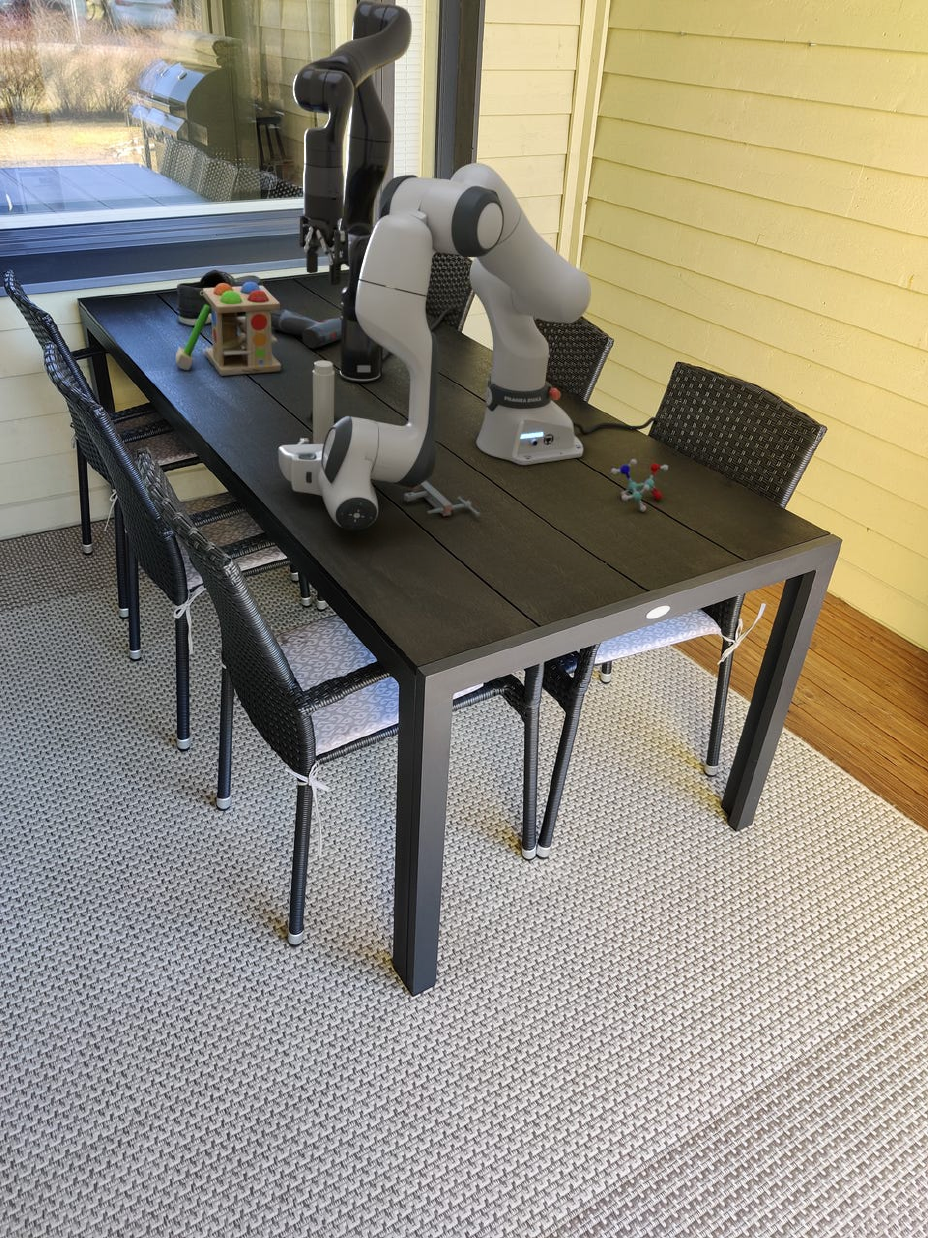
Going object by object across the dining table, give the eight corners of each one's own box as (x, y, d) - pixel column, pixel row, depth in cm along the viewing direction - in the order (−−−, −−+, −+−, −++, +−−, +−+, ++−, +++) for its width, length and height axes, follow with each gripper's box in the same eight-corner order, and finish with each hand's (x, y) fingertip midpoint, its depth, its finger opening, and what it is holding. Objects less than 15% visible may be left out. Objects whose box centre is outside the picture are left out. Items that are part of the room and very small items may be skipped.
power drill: (305, 316, 264) (364, 334, 256) (257, 332, 251) (318, 351, 243) (305, 296, 261) (365, 314, 253) (257, 311, 248) (318, 330, 240)
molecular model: (670, 504, 181) (654, 452, 180) (621, 519, 184) (605, 468, 183) (677, 496, 191) (662, 447, 190) (631, 511, 195) (616, 462, 194)
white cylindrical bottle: (337, 451, 197) (338, 361, 186) (329, 459, 193) (329, 368, 183) (317, 447, 197) (317, 358, 187) (309, 455, 194) (309, 364, 184)
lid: (311, 424, 207) (311, 416, 206) (310, 414, 211) (310, 406, 210) (335, 424, 208) (335, 416, 207) (333, 415, 212) (333, 407, 211)
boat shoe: (283, 304, 273) (281, 265, 267) (196, 327, 249) (192, 285, 243) (249, 295, 278) (246, 257, 273) (160, 318, 255) (156, 277, 249)
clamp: (395, 482, 182) (442, 474, 187) (394, 493, 183) (441, 484, 188) (433, 519, 172) (482, 509, 176) (432, 530, 173) (481, 520, 178)
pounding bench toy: (183, 379, 220) (176, 299, 210) (169, 357, 231) (162, 280, 221) (282, 371, 230) (280, 294, 220) (264, 350, 240) (262, 276, 230)
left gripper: (286, 183, 186) (288, 270, 195) (326, 199, 177) (326, 290, 186) (321, 181, 190) (321, 267, 199) (361, 197, 181) (359, 286, 190)
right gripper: (398, 454, 176) (383, 423, 186) (283, 458, 170) (274, 426, 181) (397, 486, 179) (381, 454, 190) (284, 491, 174) (275, 458, 185)
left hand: (323, 278), depth 193 cm, fingers open, 8 cm apart
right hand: (328, 440), depth 185 cm, fingers open, 8 cm apart
